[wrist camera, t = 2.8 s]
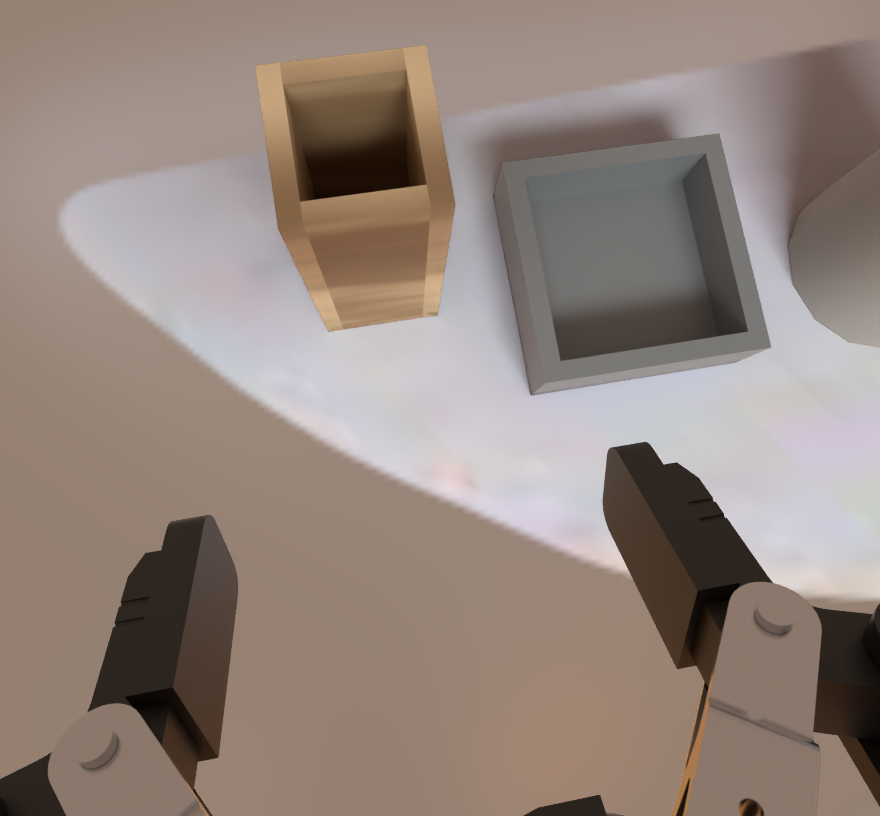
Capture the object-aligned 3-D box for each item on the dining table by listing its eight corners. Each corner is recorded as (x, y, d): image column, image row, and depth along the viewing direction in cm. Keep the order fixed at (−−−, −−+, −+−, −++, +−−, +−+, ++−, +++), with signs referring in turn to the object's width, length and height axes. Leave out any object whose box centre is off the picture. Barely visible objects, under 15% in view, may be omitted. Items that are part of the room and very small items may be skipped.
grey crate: (493, 195, 30) (502, 162, 27) (689, 169, 31) (719, 133, 28) (531, 395, 29) (545, 383, 26) (734, 362, 29) (771, 347, 26)
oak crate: (312, 226, 29) (255, 65, 18) (419, 212, 30) (426, 45, 19) (327, 331, 29) (278, 228, 18) (437, 315, 29) (455, 204, 18)
